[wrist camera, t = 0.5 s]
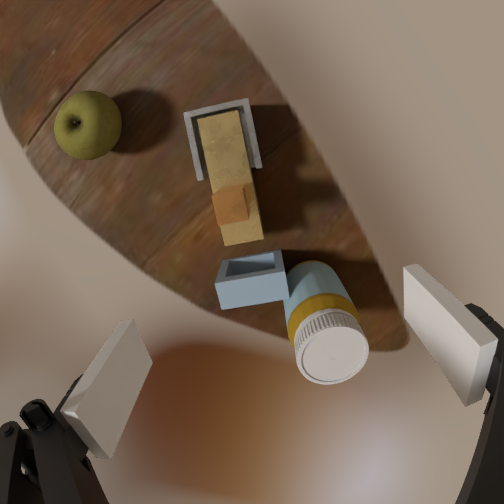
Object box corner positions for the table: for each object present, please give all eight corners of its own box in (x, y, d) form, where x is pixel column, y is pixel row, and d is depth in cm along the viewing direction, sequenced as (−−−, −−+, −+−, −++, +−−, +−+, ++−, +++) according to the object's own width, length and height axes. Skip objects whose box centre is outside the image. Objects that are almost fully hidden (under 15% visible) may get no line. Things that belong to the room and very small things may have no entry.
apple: (113, 83, 32) (84, 73, 25) (143, 133, 34) (118, 131, 27) (69, 121, 34) (36, 119, 27) (97, 170, 36) (66, 176, 29)
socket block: (222, 260, 39) (214, 283, 32) (280, 249, 38) (284, 271, 31) (228, 282, 39) (221, 309, 33) (284, 273, 39) (289, 298, 32)
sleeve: (193, 117, 34) (183, 112, 29) (249, 105, 33) (247, 98, 28) (206, 176, 36) (197, 180, 31) (262, 165, 35) (262, 167, 30)
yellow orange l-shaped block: (204, 122, 33) (185, 113, 24) (240, 114, 32) (233, 102, 24) (228, 236, 37) (218, 262, 28) (263, 229, 36) (264, 254, 28)
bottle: (329, 250, 38) (365, 309, 24) (343, 299, 40) (378, 372, 25) (274, 269, 39) (280, 338, 24) (291, 317, 41) (304, 397, 26)
